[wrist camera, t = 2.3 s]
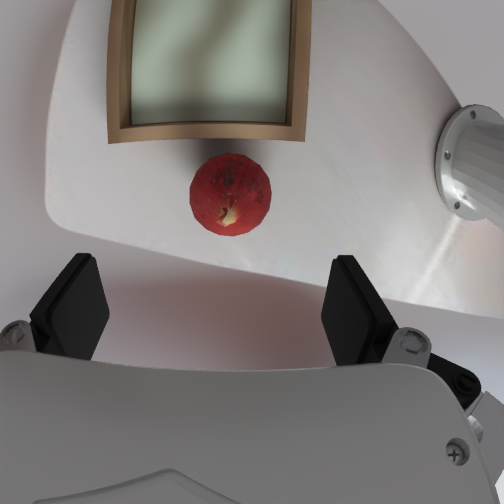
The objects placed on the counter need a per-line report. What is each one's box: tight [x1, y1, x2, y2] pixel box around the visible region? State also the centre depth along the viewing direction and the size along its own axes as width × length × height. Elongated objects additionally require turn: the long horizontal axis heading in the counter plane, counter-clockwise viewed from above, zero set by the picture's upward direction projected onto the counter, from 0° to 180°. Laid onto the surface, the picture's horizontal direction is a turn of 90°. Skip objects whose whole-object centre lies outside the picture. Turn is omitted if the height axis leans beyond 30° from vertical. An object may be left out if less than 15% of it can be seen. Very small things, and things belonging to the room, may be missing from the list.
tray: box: [107, 0, 312, 144], centre depth 17 cm, size 14×14×4 cm
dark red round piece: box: [190, 153, 272, 236], centre depth 21 cm, size 6×6×8 cm
